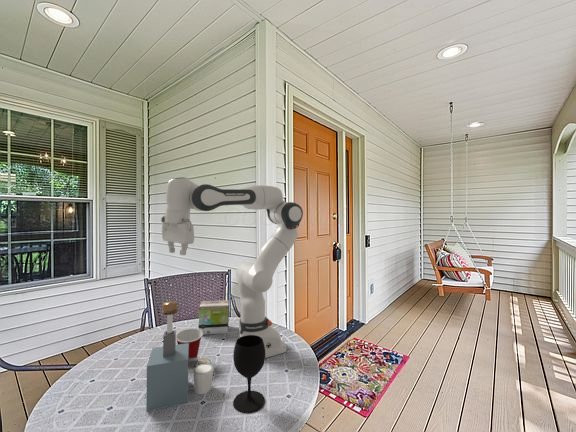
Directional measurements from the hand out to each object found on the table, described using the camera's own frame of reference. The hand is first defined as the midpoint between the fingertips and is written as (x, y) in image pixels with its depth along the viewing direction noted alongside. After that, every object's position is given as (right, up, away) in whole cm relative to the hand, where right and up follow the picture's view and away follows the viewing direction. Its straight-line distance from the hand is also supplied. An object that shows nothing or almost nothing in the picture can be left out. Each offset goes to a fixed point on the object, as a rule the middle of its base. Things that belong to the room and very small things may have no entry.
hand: (177, 253), depth 105 cm
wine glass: (+31, -46, -17) cm, 58 cm away
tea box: (+4, -46, +37) cm, 59 cm away
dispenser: (+5, -46, -14) cm, 48 cm away
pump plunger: (+3, -25, -14) cm, 29 cm away
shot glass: (+14, -46, -11) cm, 49 cm away
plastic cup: (+3, -46, +6) cm, 46 cm away
